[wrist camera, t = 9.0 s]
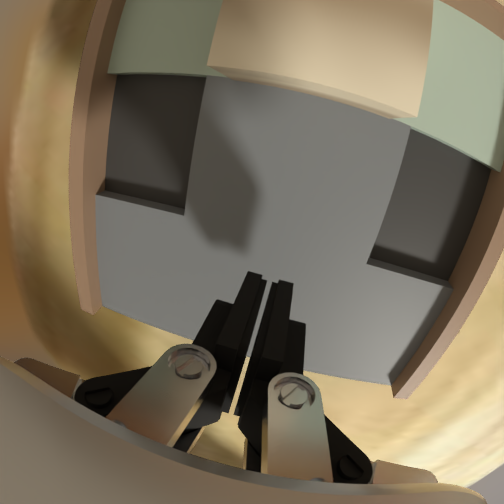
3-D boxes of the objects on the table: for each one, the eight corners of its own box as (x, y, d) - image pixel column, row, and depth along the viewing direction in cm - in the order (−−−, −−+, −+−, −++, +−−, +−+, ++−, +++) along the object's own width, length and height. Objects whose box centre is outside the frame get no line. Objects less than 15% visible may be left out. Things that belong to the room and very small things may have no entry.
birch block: (389, 118, 9) (417, 117, 6) (232, 80, 9) (206, 65, 7) (408, -5, 6) (433, -35, 4) (262, -39, 7) (248, -77, 4)
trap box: (401, 375, 15) (409, 412, 12) (98, 292, 17) (71, 318, 14) (519, 56, 6) (554, 51, 3) (137, -36, 8) (105, -56, 5)
